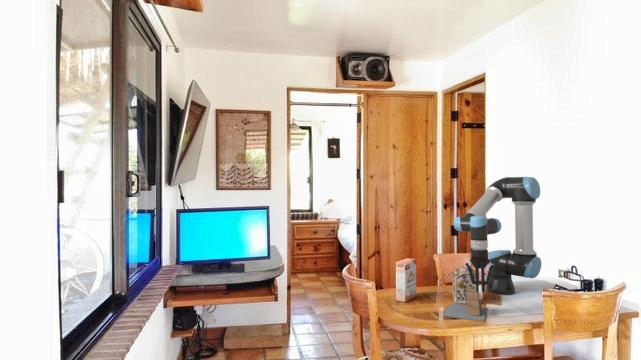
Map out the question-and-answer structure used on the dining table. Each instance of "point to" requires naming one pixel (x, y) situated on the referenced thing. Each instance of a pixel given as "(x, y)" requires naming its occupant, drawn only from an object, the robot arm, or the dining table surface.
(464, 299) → the decorative jar
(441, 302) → the dining table surface
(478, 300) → the walnut block
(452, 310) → the rubber mat
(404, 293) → the cracker box
